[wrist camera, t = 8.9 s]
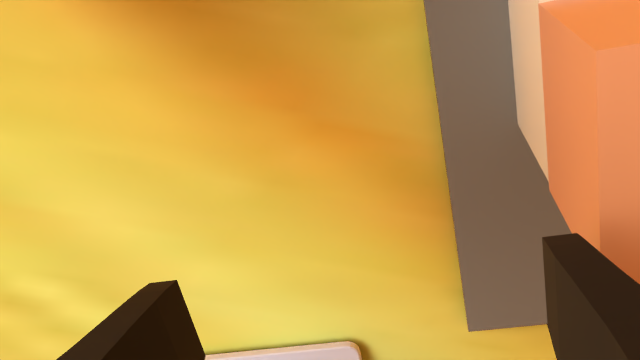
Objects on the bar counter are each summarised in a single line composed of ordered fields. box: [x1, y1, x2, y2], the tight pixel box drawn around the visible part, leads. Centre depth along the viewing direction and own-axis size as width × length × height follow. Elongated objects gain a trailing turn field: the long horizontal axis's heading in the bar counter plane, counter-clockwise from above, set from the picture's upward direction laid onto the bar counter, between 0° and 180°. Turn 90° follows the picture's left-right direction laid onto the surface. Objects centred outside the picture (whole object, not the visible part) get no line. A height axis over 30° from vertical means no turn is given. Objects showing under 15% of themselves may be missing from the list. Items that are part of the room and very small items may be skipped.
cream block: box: [508, 0, 554, 182], centre depth 17 cm, size 5×4×4 cm
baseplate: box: [424, 0, 572, 332], centre depth 21 cm, size 14×9×1 cm, turn 12°
